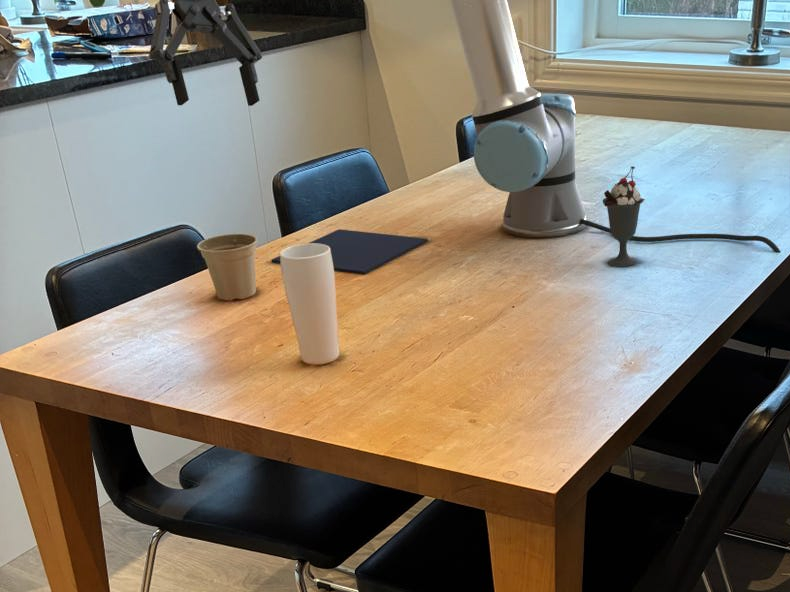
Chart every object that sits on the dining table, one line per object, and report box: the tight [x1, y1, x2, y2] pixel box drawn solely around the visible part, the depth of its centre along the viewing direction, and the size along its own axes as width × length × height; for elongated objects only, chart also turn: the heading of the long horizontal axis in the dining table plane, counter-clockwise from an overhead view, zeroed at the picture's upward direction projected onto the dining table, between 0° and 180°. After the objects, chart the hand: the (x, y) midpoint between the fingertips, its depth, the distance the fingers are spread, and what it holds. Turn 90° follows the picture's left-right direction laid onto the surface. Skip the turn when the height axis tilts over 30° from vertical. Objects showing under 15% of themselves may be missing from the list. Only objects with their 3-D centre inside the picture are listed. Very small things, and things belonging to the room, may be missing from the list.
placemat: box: [270, 229, 429, 275], centre depth 185 cm, size 20×20×1 cm
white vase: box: [278, 242, 341, 366], centre depth 138 cm, size 7×7×15 cm
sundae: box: [602, 166, 645, 268], centre depth 167 cm, size 7×7×15 cm
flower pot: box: [196, 233, 259, 301], centre depth 166 cm, size 9×9×9 cm
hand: (219, 103), depth 176 cm, fingers open, 13 cm apart
